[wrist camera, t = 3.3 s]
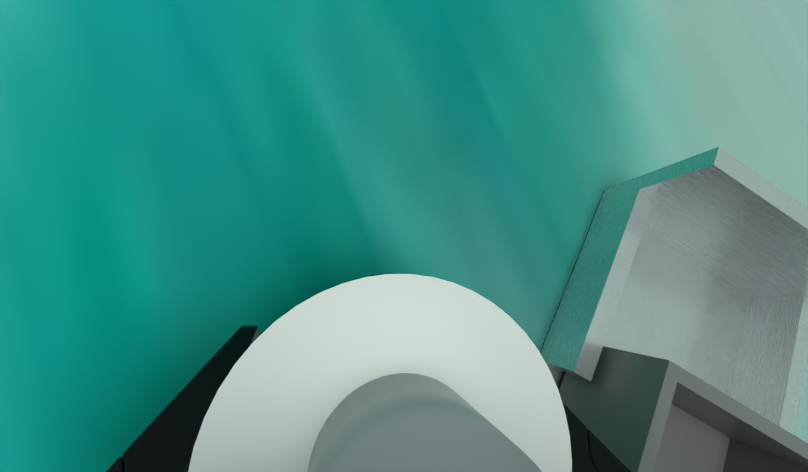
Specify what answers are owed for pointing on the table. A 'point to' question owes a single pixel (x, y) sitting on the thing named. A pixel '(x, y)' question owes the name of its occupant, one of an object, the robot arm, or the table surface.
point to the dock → (694, 283)
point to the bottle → (388, 388)
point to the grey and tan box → (675, 420)
